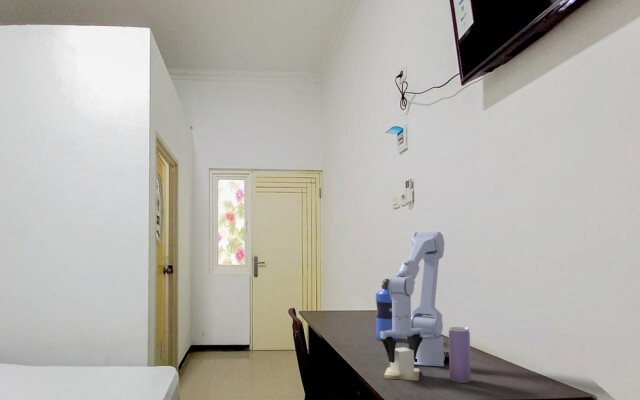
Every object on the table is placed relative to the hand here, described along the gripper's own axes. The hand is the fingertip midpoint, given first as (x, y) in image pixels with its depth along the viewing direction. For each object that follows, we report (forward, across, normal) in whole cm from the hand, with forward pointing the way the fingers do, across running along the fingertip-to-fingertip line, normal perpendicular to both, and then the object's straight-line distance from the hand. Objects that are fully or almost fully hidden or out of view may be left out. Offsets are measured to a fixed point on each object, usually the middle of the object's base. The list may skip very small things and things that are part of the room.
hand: (402, 360), depth 153 cm
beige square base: (+4, 0, 0) cm, 4 cm away
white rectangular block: (+3, 0, 0) cm, 3 cm away
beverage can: (+4, -12, +12) cm, 18 cm away
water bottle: (+4, -26, -50) cm, 57 cm away
